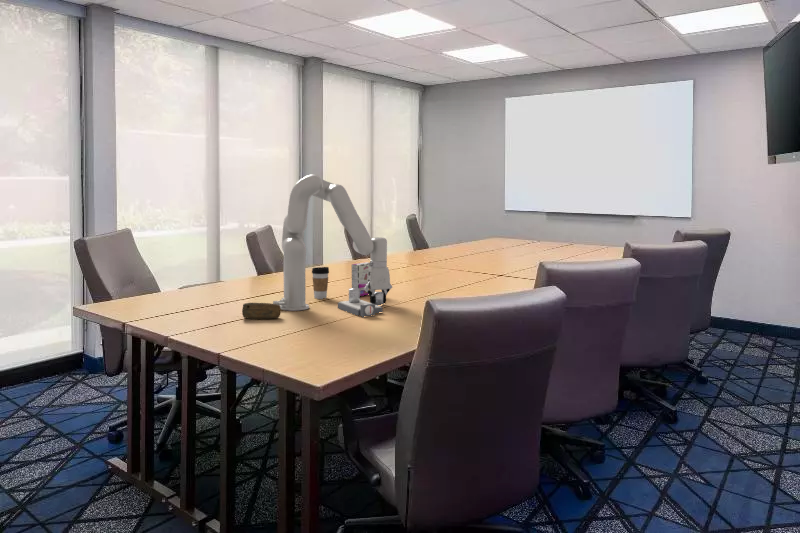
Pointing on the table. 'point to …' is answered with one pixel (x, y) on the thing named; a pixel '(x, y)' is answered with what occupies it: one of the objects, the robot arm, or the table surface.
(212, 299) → the table surface
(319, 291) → the coffee cup
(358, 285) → the candy bar box
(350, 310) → the scale
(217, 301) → the table surface
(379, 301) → the cylinder
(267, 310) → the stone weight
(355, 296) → the cylinder
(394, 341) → the table surface
